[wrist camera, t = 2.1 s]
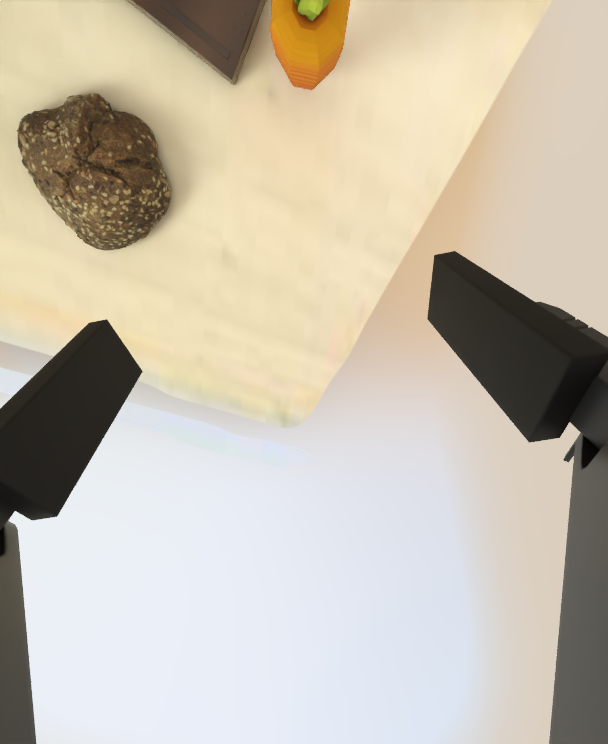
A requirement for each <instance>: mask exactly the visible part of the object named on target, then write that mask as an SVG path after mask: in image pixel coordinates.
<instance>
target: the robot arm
mask: <svg viewBox="0 0 608 744" xmlns="http://www.w3.org/2000/svg"><path fill="white" fill-rule="evenodd" d="M428 320H429V321H430V323H431V324H432V325H433V326H434V328H435V329H436V330H437V331H438V332H439V333H440V335H441V336H442V337H443V338H444V340H445V341H446V342H447V343H448V344H449V346H450V347H451V348H452V349H453V351H454V352H455V353H456V354H457V355H458V357H459V358H460V359H461V360H462V361H463V363H464V364H465V365H466V366H467V368H468V369H469V370H470V371H471V372H472V374H473V375H474V376H475V377H476V378H477V380H478V381H479V382H480V383H481V385H482V386H483V387H484V388H485V389H486V391H487V392H488V393H489V394H490V395H491V397H492V398H493V399H494V400H495V401H496V403H497V404H498V405H499V406H500V408H501V409H502V410H503V411H504V412H505V414H506V415H507V416H508V417H509V418H510V420H511V421H512V422H513V423H514V425H515V426H516V427H517V428H518V429H519V431H520V432H521V433H522V434H523V435H524V437H525V438H526V439H527V440H528V441H529V442H535V441H541V440H548V439H554V438H560V436H561V434H562V433H563V432H564V430H565V428H566V427H567V425H568V423H569V422H571V423H572V424H573V425H574V426H575V427H576V428H577V429H578V430H579V431H580V432H581V433H580V435H579V436H578V438H577V439H576V441H575V442H574V444H573V445H572V447H571V448H570V450H569V451H568V452H567V454H566V456H565V458H564V461H567V462H569V461H570V459H571V458H572V457H573V456H574V464H573V476H572V487H571V499H570V511H569V522H568V533H567V546H566V557H565V569H564V580H563V592H562V603H561V615H560V626H559V637H558V649H557V661H556V672H555V684H554V696H553V707H552V718H551V730H550V741H549V744H608V337H607V336H605V335H603V334H601V333H600V332H598V331H597V330H595V329H593V328H592V327H591V328H588V325H587V324H585V323H584V322H582V321H580V320H575V317H573V316H572V315H570V314H569V313H567V312H565V311H564V310H562V309H560V308H557V307H554V306H551V305H548V304H545V303H542V302H534V301H532V300H531V299H529V298H528V297H526V296H525V295H523V294H521V293H519V292H518V291H517V290H515V289H514V288H512V287H510V286H509V285H507V284H506V283H504V282H503V281H501V280H499V279H498V278H496V277H495V276H493V275H491V274H490V273H488V272H487V271H485V270H484V269H482V268H481V267H479V266H477V265H476V264H474V263H473V262H471V261H469V260H468V259H466V258H465V257H463V256H462V255H460V254H459V253H457V252H455V251H453V252H449V253H443V254H438V255H435V256H434V264H433V273H432V282H431V291H430V301H429V310H428ZM141 373H142V370H141V368H140V367H139V366H138V364H137V363H136V361H135V360H134V358H133V357H132V355H131V354H130V352H129V351H128V349H127V348H126V347H125V345H124V344H123V342H122V341H121V339H120V338H119V336H118V335H117V333H116V332H115V330H114V329H113V328H112V326H111V325H110V323H109V322H108V320H102V321H97V322H91V323H89V324H88V325H87V326H85V327H84V328H83V329H82V330H81V331H80V332H79V333H78V334H77V335H76V336H75V337H74V338H73V339H72V340H71V341H70V342H69V343H68V344H67V345H66V346H65V347H64V348H63V349H62V350H61V351H60V352H59V353H57V354H56V355H55V356H54V357H53V359H51V360H50V361H49V362H48V363H47V364H46V365H45V366H44V367H43V368H42V369H41V370H40V371H39V372H38V373H37V374H36V375H35V376H34V377H33V378H32V379H31V380H30V381H28V382H27V383H26V384H25V385H24V386H23V387H22V388H21V389H20V390H19V391H18V392H17V393H16V394H15V395H14V396H13V397H12V398H11V399H10V400H9V401H8V402H7V403H6V404H5V405H4V406H3V407H2V408H1V409H0V744H36V736H35V724H34V713H33V701H32V690H31V678H30V668H29V655H28V644H27V632H26V621H25V609H24V598H23V586H22V576H21V565H20V564H21V563H20V552H19V541H18V530H17V527H16V526H15V524H13V523H11V522H9V521H8V520H9V518H10V517H11V516H12V514H13V513H14V511H17V512H19V513H20V514H22V515H24V516H25V517H27V518H29V519H31V520H37V519H43V518H50V517H57V515H58V514H59V512H60V510H61V509H62V507H63V505H64V504H65V502H66V500H67V498H68V497H69V495H70V493H71V491H72V490H73V488H74V486H75V485H76V483H77V482H78V480H79V478H80V477H81V475H82V473H83V471H84V470H85V468H86V466H87V465H88V463H89V461H90V460H91V458H92V456H93V454H94V453H95V451H96V449H97V447H98V446H99V444H100V443H101V441H102V439H103V438H104V436H105V434H106V432H107V431H108V429H109V427H110V426H111V424H112V422H113V421H114V419H115V417H116V416H117V414H118V412H119V410H120V409H121V407H122V405H123V404H124V402H125V400H126V399H127V397H128V395H129V393H130V392H131V390H132V388H133V387H134V385H135V383H136V382H137V380H138V378H139V377H140V375H141Z"/></svg>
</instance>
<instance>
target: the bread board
mask: <svg viewBox="0 0 608 744" xmlns="http://www.w3.org/2000/svg"><path fill="white" fill-rule="evenodd" d="M127 1H128V2H130V3H131V4H132V5H133V6H135V7H136V8H137V9H138V10H140V11H141V12H142V13H144V14H145V15H146V16H147V17H149V18H150V19H151V20H152V21H154V22H155V23H156V24H157V25H159V26H160V27H161V28H163V29H164V30H165V31H166V32H168V33H169V34H170V35H171V36H173V37H174V38H175V39H176V40H178V41H179V42H180V43H181V44H183V45H184V46H185V47H187V48H188V49H189V50H190V51H192V52H193V53H194V54H195V55H197V56H198V57H199V58H200V59H202V60H203V61H204V62H206V63H207V64H208V65H209V66H211V67H212V68H213V69H214V70H216V71H217V72H218V73H219V74H221V75H222V76H223V77H225V78H226V79H227V80H228V81H230V82H231V83H232V84H233V85H235V83H236V81H237V78H238V75H239V72H240V70H241V67H242V64H243V61H244V59H245V56H246V53H247V50H248V48H249V45H250V42H251V39H252V37H253V34H254V31H255V28H256V26H257V23H258V20H259V17H260V15H261V12H262V9H263V6H264V4H265V1H266V0H127Z"/></svg>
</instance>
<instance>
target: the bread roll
mask: <svg viewBox="0 0 608 744" xmlns="http://www.w3.org/2000/svg"><path fill="white" fill-rule="evenodd" d="M21 120H22V121H20V124H19V130H17V131H18V147H19V149H20V151H21V155H22V157H23V160H22V163H23V165H24V166H25V167H26V168H27V169H28V173H29V174H30V176H32V177H33V180H34V182H35V184H36V187H37V188H38V189H39V191H40V193H41V195H42V196H43V197H44V198H45V200H46V201H47V202H48V204H49V205H50V206H51V207H52V209H53V210H54V211H55V212H56V213H57V214H58V216H60V217H61V218H62V219H63V220H64V221H65V224H66V225H68V226H70V228H72V229H73V230H74V231H75V232H76V233H77V234H78V235H77V236H78V237H79V238H80V239H83V241H84V242H85V243H87V244H89V245H91V246H93V247H95V248H97V249H101V250H113V249H120V248H124V247H126V246H128V245H131V244H132V243H134V242H136V241H137V240H138V239H140V238H141V239H143V238H145V237H146V236H147V234H148V233H149V232H150V230H151V229H152V228H153V226H154V225H155V224H156V222H157V221H159V220H160V219H161V218H162V216H163V215H164V214H165V213H166V211H167V209H168V206H169V203H170V196H171V186H170V184H169V182H168V180H167V177H166V175H165V173H164V171H163V169H162V167H161V163H160V160H159V158H158V155H157V144H156V141H155V138H154V135H153V132H152V131H151V130H150V128H149V127H148V126H147V125H146V124H145V123H144V122H143V121H142V120H140V119H139V118H138V117H136V116H134V115H132V114H129V113H126V112H119V111H112V109H111V108H110V104H109V103H108V102H106V101H105V100H104V98H102V97H101V96H100V95H99V94H89V95H86V96H81V95H77V96H70V97H68V98H67V101H66V102H65V103H64V105H63V106H61V107H59V108H57V109H53V110H47V109H46V110H42V111H34V112H33V113H32V114H28V115H26V116H25V117H23V118H22V119H21Z"/></svg>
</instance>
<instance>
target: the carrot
mask: <svg viewBox="0 0 608 744" xmlns="http://www.w3.org/2000/svg"><path fill="white" fill-rule="evenodd" d="M349 6H350V0H272V9H271V25H270V32H271V37H272V42H273V46H274V49H275V53H276V56H277V58H278V59H279V61H280V63H281V65H282V67H283V68H284V70H285V72H286V74H287V76H288V78H289V79H290V81H291V83H292V84H293V85H294V86H295V87H300V88H304V89H309V90H312V89H314V88H315V87H316V86H317V85H318V84H319V83H320V82H321V81H322V80H323V79H324V78H325V77H326V76H327V75H328V74H329V73H330V72H331V71H332V70H333V69H334V68H335V65H336V63H337V61H338V59H339V57H340V54H341V52H342V49H343V45H344V38H345V32H346V25H347V19H348V12H349Z"/></svg>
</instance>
